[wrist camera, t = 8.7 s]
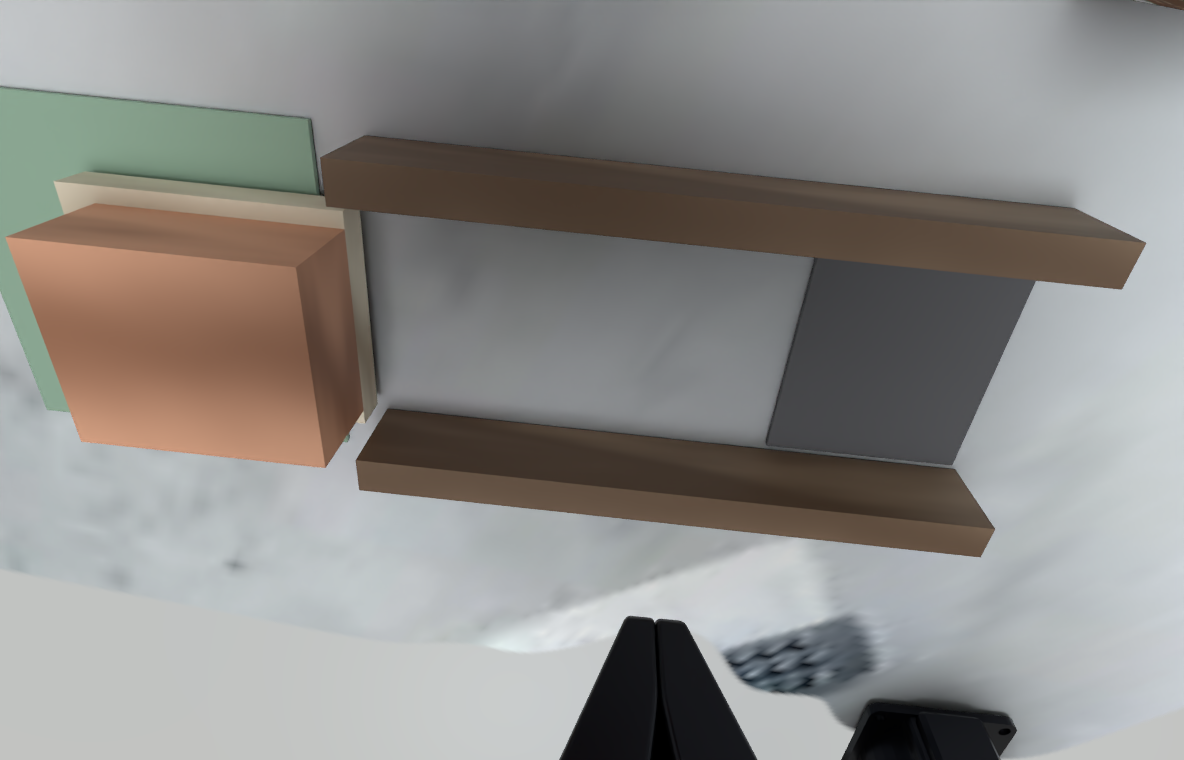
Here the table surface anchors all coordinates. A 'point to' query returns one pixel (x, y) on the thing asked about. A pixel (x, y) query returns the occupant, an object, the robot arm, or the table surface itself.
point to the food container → (1166, 3)
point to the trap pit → (893, 359)
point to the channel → (716, 219)
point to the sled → (203, 316)
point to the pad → (127, 170)
